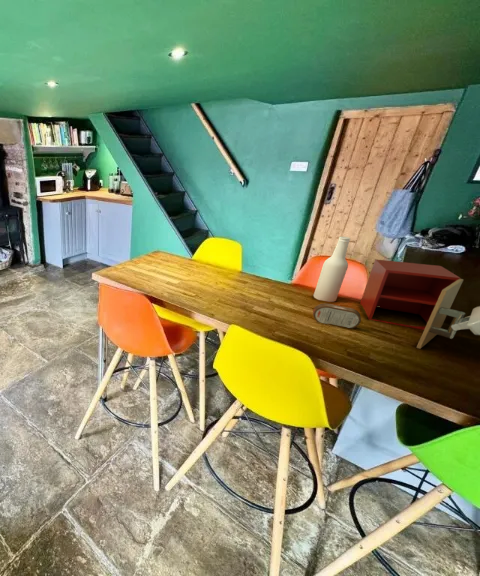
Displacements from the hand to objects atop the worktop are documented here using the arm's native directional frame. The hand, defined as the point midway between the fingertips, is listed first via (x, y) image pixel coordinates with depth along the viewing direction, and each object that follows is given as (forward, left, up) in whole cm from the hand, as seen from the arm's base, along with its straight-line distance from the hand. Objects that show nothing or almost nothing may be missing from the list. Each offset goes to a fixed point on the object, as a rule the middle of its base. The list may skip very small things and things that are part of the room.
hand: (453, 326), depth 97 cm
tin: (+29, -6, -10) cm, 31 cm away
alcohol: (+29, -35, -10) cm, 47 cm away
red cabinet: (+6, -26, -10) cm, 29 cm away
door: (-2, -8, -10) cm, 13 cm away
